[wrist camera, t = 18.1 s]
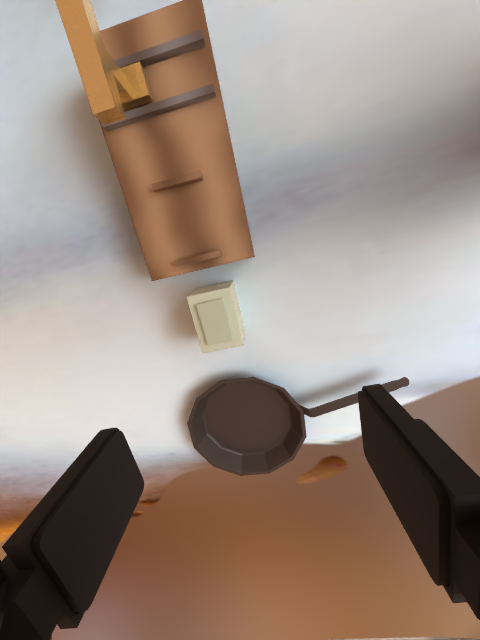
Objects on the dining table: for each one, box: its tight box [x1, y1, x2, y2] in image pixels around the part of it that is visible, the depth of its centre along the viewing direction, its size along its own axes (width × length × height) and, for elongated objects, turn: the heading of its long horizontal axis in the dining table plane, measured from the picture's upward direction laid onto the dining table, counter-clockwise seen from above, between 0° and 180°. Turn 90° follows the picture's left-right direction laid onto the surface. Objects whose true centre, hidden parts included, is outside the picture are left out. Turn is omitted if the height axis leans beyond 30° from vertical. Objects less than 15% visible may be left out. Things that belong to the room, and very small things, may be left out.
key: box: [55, 0, 153, 125], centre depth 19 cm, size 5×8×6 cm, turn 13°
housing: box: [99, 0, 255, 281], centre depth 26 cm, size 12×22×6 cm, turn 13°
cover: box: [186, 281, 245, 353], centre depth 30 cm, size 5×7×6 cm
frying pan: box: [187, 377, 409, 476], centre depth 35 cm, size 18×32×4 cm, turn 115°
